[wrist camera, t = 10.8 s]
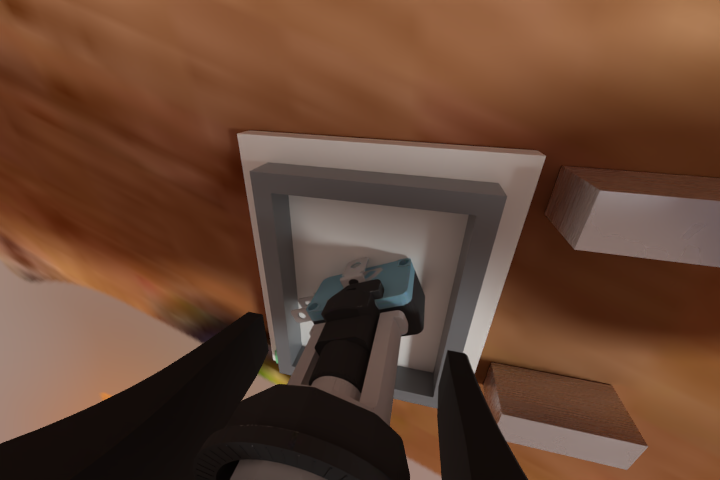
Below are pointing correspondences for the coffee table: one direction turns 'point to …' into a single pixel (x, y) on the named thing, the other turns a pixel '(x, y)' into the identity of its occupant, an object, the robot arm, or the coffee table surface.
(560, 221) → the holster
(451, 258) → the port dock
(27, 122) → the coffee table surface
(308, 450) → the push button
